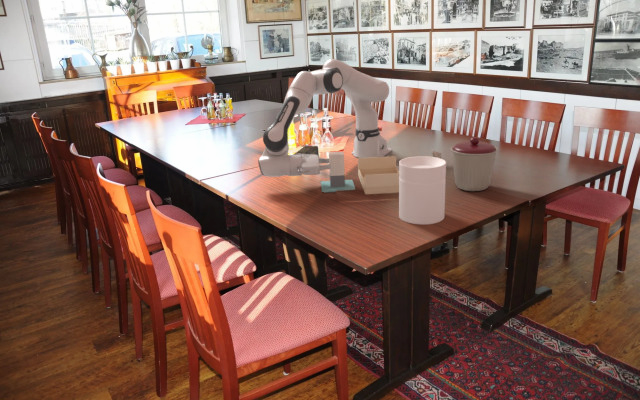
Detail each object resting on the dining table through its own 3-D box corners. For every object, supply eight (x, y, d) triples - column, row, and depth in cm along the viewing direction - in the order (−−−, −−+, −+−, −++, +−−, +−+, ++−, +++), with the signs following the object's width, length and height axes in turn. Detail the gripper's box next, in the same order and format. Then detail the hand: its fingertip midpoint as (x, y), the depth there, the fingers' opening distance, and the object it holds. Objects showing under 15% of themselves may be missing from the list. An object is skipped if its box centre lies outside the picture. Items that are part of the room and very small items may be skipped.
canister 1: (438, 207, 194) (439, 155, 188) (449, 223, 179) (451, 167, 172) (395, 209, 194) (395, 157, 187) (403, 225, 179) (403, 169, 172)
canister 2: (461, 178, 226) (463, 130, 219) (502, 185, 215) (505, 135, 208) (441, 190, 213) (443, 139, 206) (484, 197, 202) (487, 144, 195)
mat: (321, 192, 217) (321, 191, 216) (320, 182, 230) (320, 181, 230) (355, 190, 217) (355, 189, 217) (352, 180, 230) (352, 179, 230)
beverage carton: (292, 166, 258) (291, 153, 256) (305, 156, 275) (304, 144, 273) (307, 167, 256) (306, 154, 254) (319, 157, 273) (318, 145, 271)
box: (330, 187, 221) (329, 155, 216) (330, 183, 226) (328, 152, 221) (345, 186, 221) (343, 154, 216) (344, 183, 226) (343, 151, 221)
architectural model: (435, 169, 242) (436, 154, 240) (425, 166, 248) (426, 151, 245) (441, 168, 244) (441, 153, 241) (431, 165, 249) (431, 150, 247)
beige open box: (365, 195, 211) (365, 175, 208) (358, 176, 236) (357, 158, 233) (407, 193, 211) (407, 172, 208) (395, 174, 237) (396, 156, 234)
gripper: (296, 164, 208) (331, 162, 209) (296, 152, 228) (328, 150, 228) (297, 179, 211) (331, 177, 211) (297, 166, 230) (329, 164, 230)
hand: (330, 163), depth 220 cm, fingers open, 8 cm apart
